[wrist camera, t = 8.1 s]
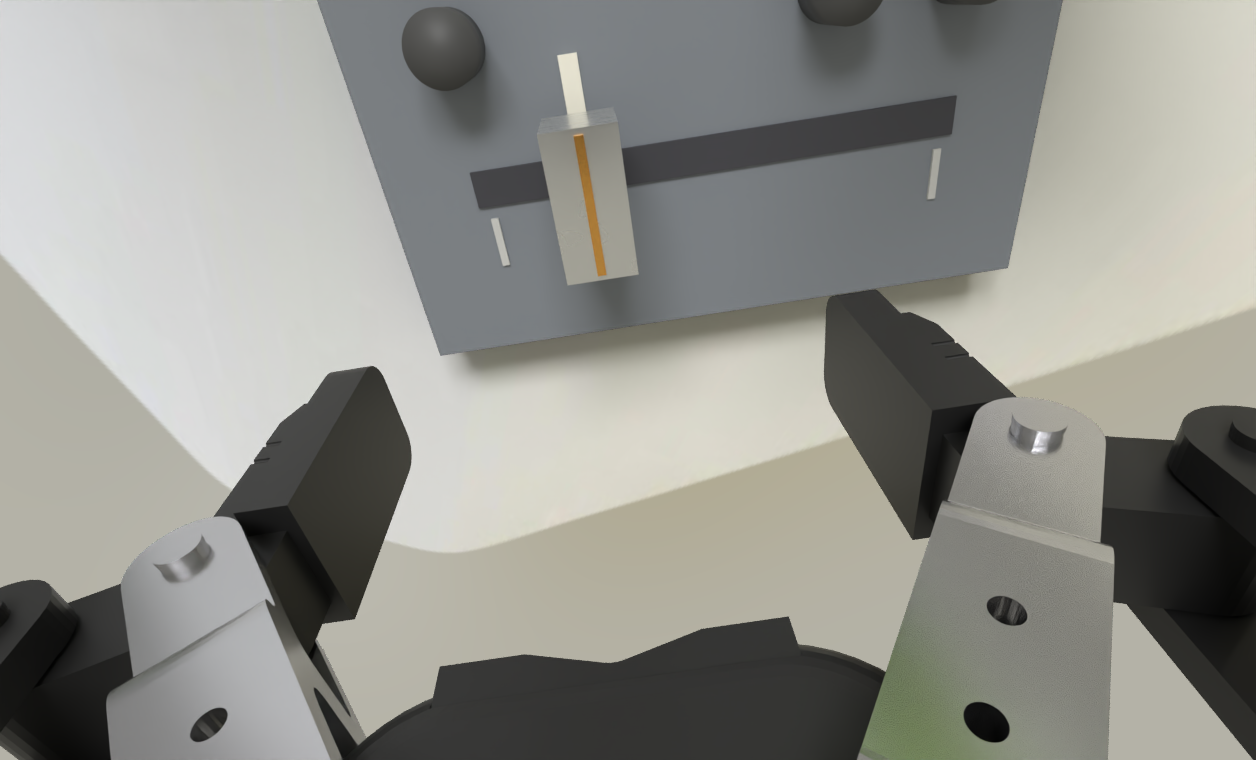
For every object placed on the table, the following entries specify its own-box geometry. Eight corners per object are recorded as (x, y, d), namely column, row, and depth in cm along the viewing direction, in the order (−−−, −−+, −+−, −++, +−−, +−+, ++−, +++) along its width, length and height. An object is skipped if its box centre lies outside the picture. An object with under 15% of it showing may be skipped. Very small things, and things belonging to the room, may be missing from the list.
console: (1040, -116, 22) (1135, -140, 19) (977, 248, 30) (1035, 285, 26) (340, -2, 23) (292, -2, 19) (450, 330, 30) (431, 378, 26)
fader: (611, 100, 23) (617, 122, 19) (629, 231, 25) (638, 275, 21) (544, 111, 23) (536, 135, 19) (569, 241, 25) (567, 286, 21)
